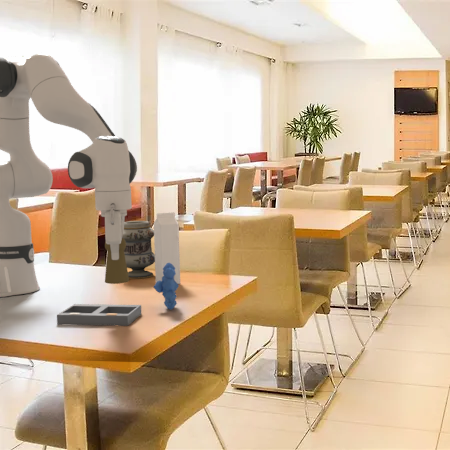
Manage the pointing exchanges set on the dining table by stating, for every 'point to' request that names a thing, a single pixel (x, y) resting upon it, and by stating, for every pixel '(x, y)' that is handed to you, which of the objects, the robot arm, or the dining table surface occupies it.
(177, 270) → the milk
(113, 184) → the robot arm
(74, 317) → the panel
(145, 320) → the dining table surface
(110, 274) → the cork
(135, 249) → the apothecary jar
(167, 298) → the grapes
